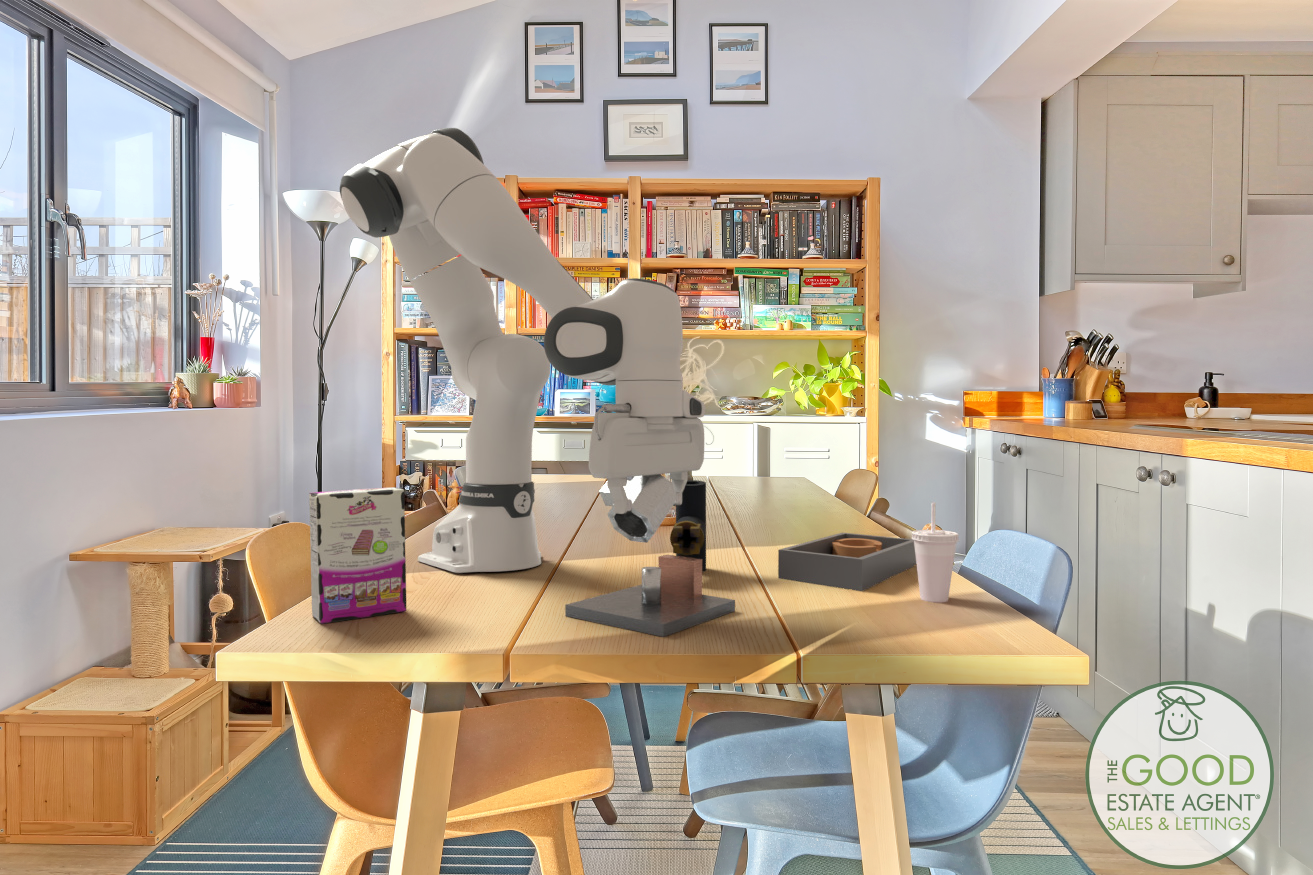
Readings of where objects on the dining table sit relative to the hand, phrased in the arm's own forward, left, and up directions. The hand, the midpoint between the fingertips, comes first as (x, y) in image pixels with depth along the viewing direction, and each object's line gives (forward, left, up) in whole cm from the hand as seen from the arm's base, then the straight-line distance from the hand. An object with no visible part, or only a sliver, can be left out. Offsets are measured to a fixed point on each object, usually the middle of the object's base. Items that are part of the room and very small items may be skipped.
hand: (649, 509), depth 106 cm
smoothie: (+27, +31, -14) cm, 44 cm away
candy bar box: (-30, -24, -14) cm, 41 cm away
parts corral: (+10, +41, -14) cm, 45 cm away
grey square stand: (0, 0, -14) cm, 14 cm away
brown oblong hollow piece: (+3, +48, -17) cm, 51 cm away
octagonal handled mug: (-1, -3, -2) cm, 3 cm away
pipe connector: (-10, +23, -14) cm, 29 cm away
